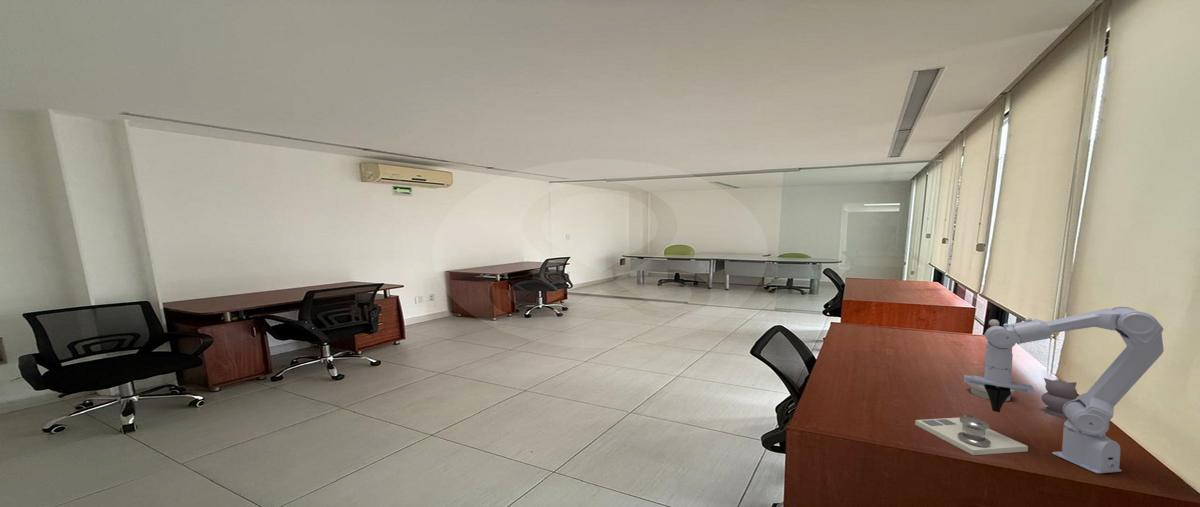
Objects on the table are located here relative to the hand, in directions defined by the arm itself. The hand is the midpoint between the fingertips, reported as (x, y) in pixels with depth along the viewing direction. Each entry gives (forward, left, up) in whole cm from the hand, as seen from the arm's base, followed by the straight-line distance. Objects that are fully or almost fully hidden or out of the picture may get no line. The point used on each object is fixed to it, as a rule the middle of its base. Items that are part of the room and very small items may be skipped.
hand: (995, 410), depth 119 cm
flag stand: (+30, -36, -10) cm, 48 cm away
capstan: (+1, +6, -8) cm, 10 cm away
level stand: (+3, +6, -9) cm, 11 cm away
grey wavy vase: (+13, -42, -10) cm, 45 cm away
